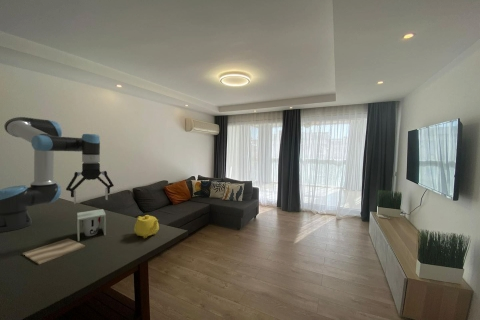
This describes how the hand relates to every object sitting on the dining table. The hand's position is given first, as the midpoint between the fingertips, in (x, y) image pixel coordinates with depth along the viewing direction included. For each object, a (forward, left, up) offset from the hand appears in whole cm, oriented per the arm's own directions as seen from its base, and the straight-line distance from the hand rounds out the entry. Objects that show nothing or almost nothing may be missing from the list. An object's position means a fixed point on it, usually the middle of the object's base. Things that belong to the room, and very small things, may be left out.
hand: (91, 201), depth 103 cm
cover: (0, 0, -18) cm, 18 cm away
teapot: (+27, +14, -19) cm, 36 cm away
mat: (+5, -17, -18) cm, 25 cm away
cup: (0, 0, -19) cm, 19 cm away
